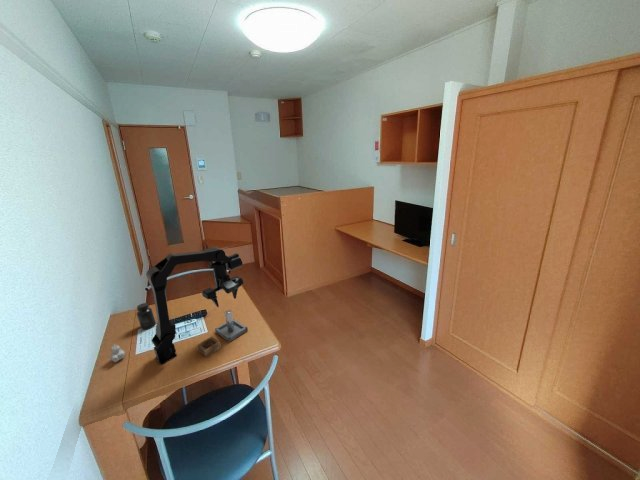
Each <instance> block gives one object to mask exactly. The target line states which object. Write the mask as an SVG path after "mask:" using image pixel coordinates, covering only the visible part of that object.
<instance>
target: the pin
mask: <svg viewBox="0 0 640 480" xmlns="http://www.w3.org/2000/svg"><path fill="white" fill-rule="evenodd" d="M224 317H225V323H227V329H228V332H233V331H234V330H235V327H234V322H233V319H234V317H233V312H232V310H230V309H227V310H225V311H224Z"/></svg>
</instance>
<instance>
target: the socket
mask: <svg viewBox="0 0 640 480" xmlns="http://www.w3.org/2000/svg"><path fill="white" fill-rule="evenodd" d="M196 346H197V351H198V352H199V353H201V355H203V356H204V358H208V357H209V356H211V355H212V354H214V353H216V352H218V351H219V350H221V349H222V346H221V342H220V341H219V340H217V339H216V338H215V337H213V336H210V337H208V338H207V339H205V340H203V341H201V342H200V343H198V344H196ZM207 347H208V348H207Z"/></svg>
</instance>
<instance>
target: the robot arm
mask: <svg viewBox="0 0 640 480" xmlns="http://www.w3.org/2000/svg"><path fill="white" fill-rule="evenodd" d="M196 262H209V263H208V264H207V267H208V268H209V269H213V271H212V272H213V274H214V275H212V276H213V278H214V279H215V283H214V286H215V287H214V288H212V287H208V288H205V289H203V290H202V291H201V295H202V297H203V298H205V299H207V300H211V301H212V302H213V304H214V305H215V306H216V307H217V308H219V306H220V305H219V302H218V295H217V293H218V292H221V291H222V290H223V291H224V292H225V293H226V294H230V293H232V297H233V299H237V295H238V290H239V288H240V287H241V286H242V285H243V284H244V279H243V278H242V277H239V276H238V275H236V276H233V277H230V275H229V274H228V270H229V271H232V270H236V269H238V268H241V267H242V266H243V261H242V258H241V257H240V254H239V253H233V254H231V255H228V256H227V255H226V252H225V250H223V249H221V248H219V247H217V246H212V247H209V248H205V249H204V250H199V251H191V252H190V251H188V252H180V253H169V254H168V255H166V256H165V258H163V259H162V260H160V261H159V262H157V263H156V264H155V265H154V266H153V267H151V268H149V269H148V270H147V271H146V278H147V282H148V283H149V285H150V287H151V290H152V294H153V299H154V306H155V313H156V324H155V334H154V336H153V337H152V338H151V342H152V344H153V345H154V347H153V350H154V354H155V359H156V361H157V362H158V363H159V364H160V365H163V364H165V363H166V362H169V361H170V360H172V359H174V358H176V357H177V356H178V354H177V352H176V351H177V350H176V347H175V344H174V340H175V338H176V335H177V334H178V333H177V331H176V324H175V322H174V321H172V319H170V316H169V310H168V308H169V307H168V304H167V295H166V288H167V285H168V277H169V276H170V275H171V274H172V272H173V270H174V269H175V268H176V266H178V265H181V264H188V263H189V264H190V263H196Z"/></svg>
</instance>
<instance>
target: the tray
mask: <svg viewBox="0 0 640 480" xmlns="http://www.w3.org/2000/svg"><path fill="white" fill-rule="evenodd" d="M233 322H234V327H235V330H234V331H233V332H228V329H227V323H226V322H225V323H223V324H221V325H219V326H217V327H216V328H214V331H215V333H216V334H217V335H219V336H220V337H222V338H223V339H224V340H226V341H227V342H229V343H230V342H232V341H234V340H235V339H237V338H239V337H240V336H242V335H244V334H245V333H246V332H248V327H247V326H246V325H245V324H243V323H241V322H239V321H238V320H236V319H235V318H233Z"/></svg>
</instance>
